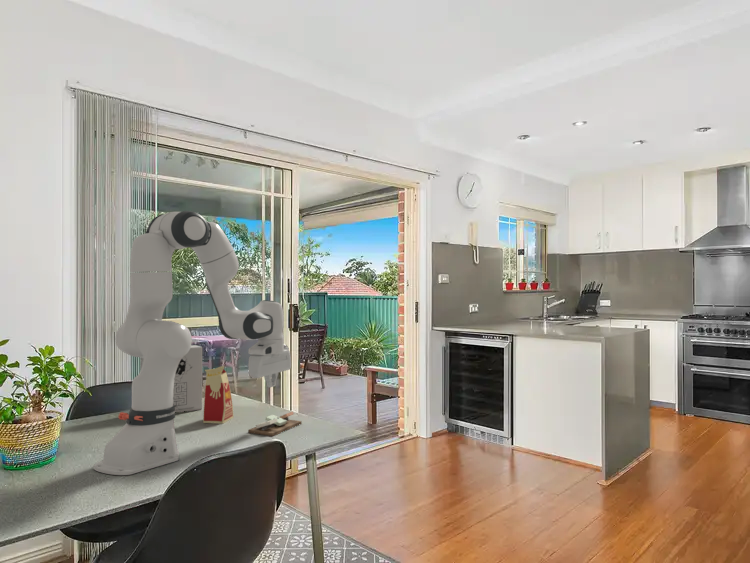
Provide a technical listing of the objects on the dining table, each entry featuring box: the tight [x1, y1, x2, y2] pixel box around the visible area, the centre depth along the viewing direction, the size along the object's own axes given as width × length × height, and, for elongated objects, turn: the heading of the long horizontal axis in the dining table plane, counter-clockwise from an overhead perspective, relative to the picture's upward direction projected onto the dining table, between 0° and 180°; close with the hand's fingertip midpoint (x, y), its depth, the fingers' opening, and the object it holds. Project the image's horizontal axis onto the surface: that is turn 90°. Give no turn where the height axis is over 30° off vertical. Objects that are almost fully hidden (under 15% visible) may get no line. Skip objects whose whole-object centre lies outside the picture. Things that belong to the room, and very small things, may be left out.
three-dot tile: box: [279, 411, 295, 419], centre depth 184 cm, size 4×6×1 cm, turn 65°
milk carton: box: [202, 365, 234, 425], centre depth 190 cm, size 9×9×20 cm
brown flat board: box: [247, 416, 302, 437], centre depth 179 cm, size 17×10×2 cm, turn 155°
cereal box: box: [139, 344, 203, 413], centre depth 204 cm, size 22×8×25 cm, turn 124°
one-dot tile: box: [255, 419, 277, 428], centre depth 175 cm, size 4×6×1 cm, turn 65°
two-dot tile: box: [265, 414, 287, 426], centre depth 179 cm, size 4×6×1 cm, turn 65°
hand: (271, 386), depth 181 cm, fingers closed
